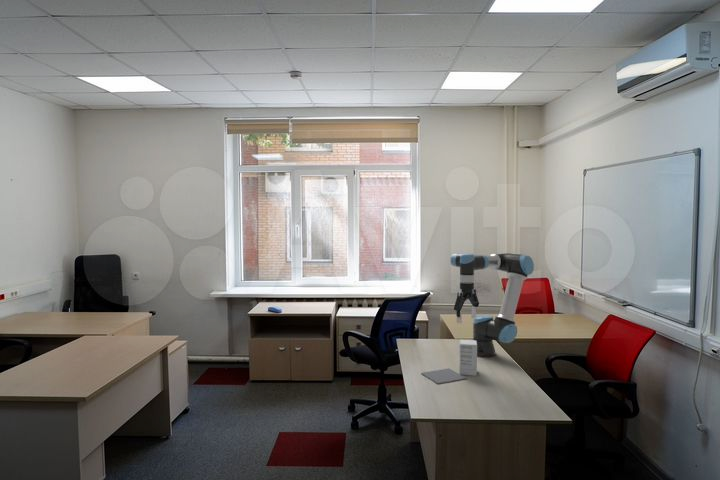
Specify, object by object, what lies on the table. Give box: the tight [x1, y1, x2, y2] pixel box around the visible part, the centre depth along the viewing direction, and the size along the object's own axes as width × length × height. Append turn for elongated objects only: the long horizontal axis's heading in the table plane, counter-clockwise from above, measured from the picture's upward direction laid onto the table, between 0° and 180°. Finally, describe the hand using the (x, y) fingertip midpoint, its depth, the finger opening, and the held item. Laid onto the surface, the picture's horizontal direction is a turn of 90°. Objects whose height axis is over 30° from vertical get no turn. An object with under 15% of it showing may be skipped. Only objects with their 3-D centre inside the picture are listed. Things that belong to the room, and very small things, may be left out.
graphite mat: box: [420, 368, 467, 385], centre depth 250 cm, size 18×16×1 cm
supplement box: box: [458, 339, 478, 376], centre depth 256 cm, size 10×9×17 cm
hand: (466, 320), depth 258 cm, fingers open, 13 cm apart
